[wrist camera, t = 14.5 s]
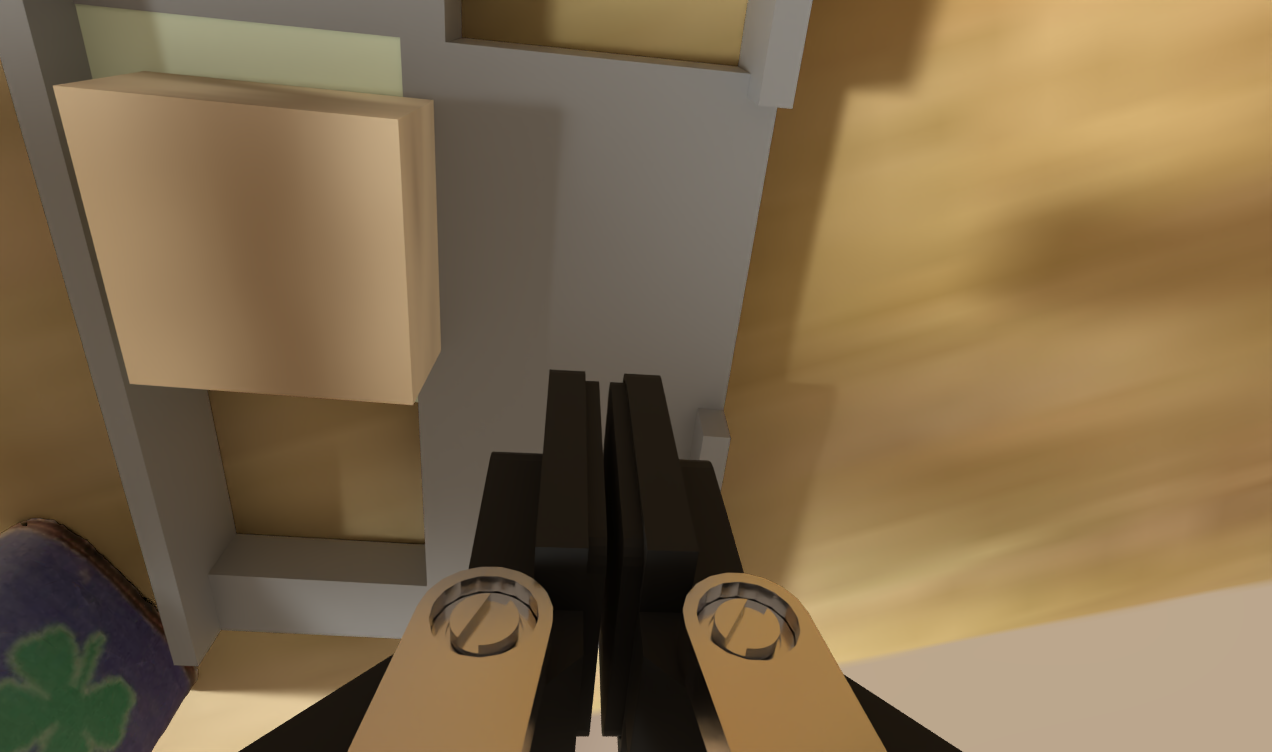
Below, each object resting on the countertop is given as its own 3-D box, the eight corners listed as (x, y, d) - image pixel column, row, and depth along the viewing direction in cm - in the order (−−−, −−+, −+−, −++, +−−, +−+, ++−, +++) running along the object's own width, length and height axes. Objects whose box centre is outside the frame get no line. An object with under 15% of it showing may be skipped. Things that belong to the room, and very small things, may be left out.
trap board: (226, 586, 26) (174, 665, 23) (-9, -473, 14) (-192, -608, 11) (676, 609, 27) (683, 688, 24) (837, -350, 15) (895, -441, 12)
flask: (-6, 525, 25) (-387, 854, 15) (68, 503, 24) (-275, 826, 15) (156, 696, 29) (-64, 1038, 20) (221, 679, 29) (29, 1018, 19)
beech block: (197, 331, 19) (130, 383, 17) (144, 70, 16) (52, 85, 14) (441, 350, 20) (412, 405, 17) (433, 100, 17) (398, 119, 14)
